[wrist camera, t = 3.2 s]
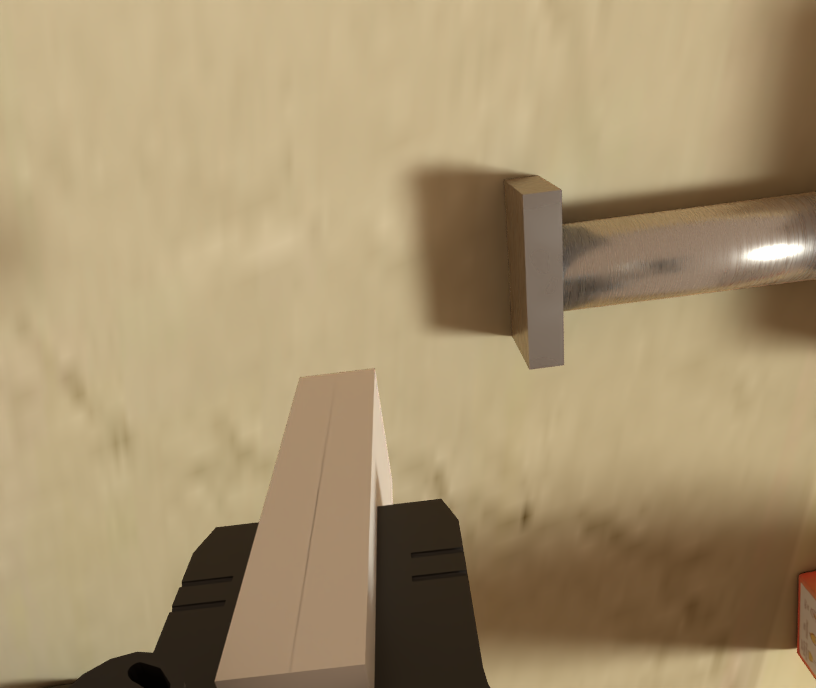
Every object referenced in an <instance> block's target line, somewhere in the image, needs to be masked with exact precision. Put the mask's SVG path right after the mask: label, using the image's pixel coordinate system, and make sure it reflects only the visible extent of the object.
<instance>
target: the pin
mask: <svg viewBox="0 0 816 688" xmlns="http://www.w3.org/2000/svg"><path fill="white" fill-rule="evenodd" d="M504 191H505V210H506V229H507V248H508V268H509V287H510V306H511V325H512V337H513V339H514V341H515V343H516V345H517V347H518V348H519V350H520V352H521V354H522V356H523V358H524V360H525V362H526V364H527V366H528V367H529V369H537V368H545V367H553V366H560V365H564V328H563V311H569V310H577V309H585V308H593V307H601V306H609V305H617V304H625V303H632V302H640V301H648V300H656V299H664V298H672V297H680V296H688V295H695V294H703V293H711V292H719V291H727V290H735V289H743V288H751V287H758V286H766V285H774V284H782V283H790V282H798V281H806V280H814V279H816V192H809V193H801V194H793V195H786V196H778V197H770V198H762V199H754V200H746V201H738V202H731V203H723V204H715V205H707V206H699V207H691V208H684V209H676V210H668V211H660V212H652V213H644V214H636V215H629V216H621V217H613V218H605V219H597V220H589V221H582V222H574V223H566V224H562V190H561V189H560V188H558V187H556V186H555V185H553V184H551V183H550V182H548V181H546V180H545V179H543V178H542V177H540V176H538V175H536V176H529V177H521V178H513V179H505V180H504Z"/></svg>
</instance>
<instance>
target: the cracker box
mask: <svg viewBox="0 0 816 688" xmlns="http://www.w3.org/2000/svg"><path fill="white" fill-rule="evenodd" d="M797 653H798V655H799V656H800V658H801V659H802V661H803V662H804V664H805V665H806V666H807V668H808V669H809V671H810V672H811V673H812V675H813V676H814V678H815V679H816V571H813V572H807V573H803V574H800V575H799V584H798V636H797Z"/></svg>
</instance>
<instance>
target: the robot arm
mask: <svg viewBox="0 0 816 688" xmlns="http://www.w3.org/2000/svg"><path fill="white" fill-rule="evenodd" d="M49 688H490V686H489V685H488V682H487V679H486V676H485V673H484V669H483V665H482V659H481V653H480V647H479V641H478V635H477V629H476V623H475V617H474V611H473V605H472V599H471V593H470V587H469V581H468V576H467V569H466V563H465V557H464V552H463V545H462V539H461V533H460V527H459V521H458V519H457V518H456V516H455V515H454V514H453V513H452V511H451V510H450V509H449V508H448V507H447V505H446V504H445V503H444V502H443V500H442V499H436V500H427V501H419V502H410V503H402V504H393V491H392V475H391V469H390V463H389V456H388V450H387V443H386V437H385V430H384V424H383V418H382V411H381V405H380V398H379V392H378V386H377V379H376V373H375V368H373V369H364V370H356V371H348V372H339V373H331V374H323V375H315V376H306V377H300V378H299V382H298V385H297V389H296V392H295V396H294V400H293V403H292V407H291V410H290V414H289V417H288V421H287V425H286V428H285V432H284V435H283V439H282V442H281V446H280V450H279V453H278V457H277V460H276V464H275V467H274V471H273V474H272V478H271V482H270V485H269V489H268V492H267V496H266V499H265V503H264V507H263V510H262V514H261V517H260V521H259V522H258V523H250V524H241V525H233V526H224V527H216V528H215V529H214V530H213V531H212V533H211V534H210V535H209V536H208V537H207V538H206V539H205V540H204V542H203V543H202V544H201V545H200V546H199V547H198V548H197V549H196V551H195V552H194V553H193V555H192V557H191V560H190V562H189V565H188V567H187V570H186V572H185V575H184V577H183V580H182V587H180V588H179V590H178V592H177V595H176V597H175V600H174V602H173V605H172V612H169V615H168V617H167V620H166V622H165V625H164V627H163V630H162V632H161V635H160V637H159V640H158V642H157V645H156V647H155V650H154V652H153V653H148V652H135V653H131V654H127V655H124V656H120V657H116V658H113V659H110V660H108V661H106V662H104V663H103V664H101V665H99V666H97V667H95V668H94V669H92V670H90V671H88V672H87V673H85V674H83V675H82V676H81V677H80V678H79V679H77V680H76V681H75V682H74V683H73V684H67V685H60V686H54V687H49Z"/></svg>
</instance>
